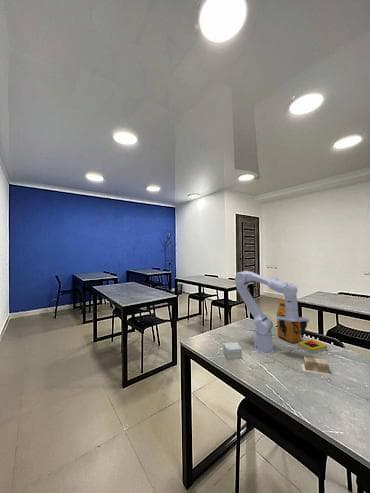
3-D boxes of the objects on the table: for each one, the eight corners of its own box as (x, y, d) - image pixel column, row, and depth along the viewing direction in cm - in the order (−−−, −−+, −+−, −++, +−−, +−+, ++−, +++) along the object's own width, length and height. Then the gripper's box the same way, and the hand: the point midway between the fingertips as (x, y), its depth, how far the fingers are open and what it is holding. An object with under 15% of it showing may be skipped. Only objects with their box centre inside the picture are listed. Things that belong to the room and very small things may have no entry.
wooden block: (305, 360, 95) (329, 364, 91) (303, 356, 98) (326, 359, 95) (305, 369, 95) (329, 373, 91) (304, 365, 98) (327, 368, 95)
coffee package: (290, 344, 120) (289, 305, 121) (275, 336, 132) (273, 300, 132) (304, 341, 123) (302, 303, 124) (288, 333, 135) (286, 299, 135)
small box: (237, 351, 115) (237, 341, 115) (242, 358, 107) (242, 348, 107) (223, 352, 114) (223, 342, 115) (227, 359, 107) (226, 349, 107)
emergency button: (294, 340, 117) (315, 336, 121) (295, 348, 116) (315, 344, 121) (309, 348, 108) (331, 342, 112) (309, 356, 108) (331, 351, 112)
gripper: (276, 310, 106) (278, 337, 106) (309, 311, 101) (311, 340, 101) (275, 306, 113) (277, 332, 113) (306, 307, 108) (309, 335, 107)
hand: (293, 336), depth 107 cm, fingers open, 7 cm apart
